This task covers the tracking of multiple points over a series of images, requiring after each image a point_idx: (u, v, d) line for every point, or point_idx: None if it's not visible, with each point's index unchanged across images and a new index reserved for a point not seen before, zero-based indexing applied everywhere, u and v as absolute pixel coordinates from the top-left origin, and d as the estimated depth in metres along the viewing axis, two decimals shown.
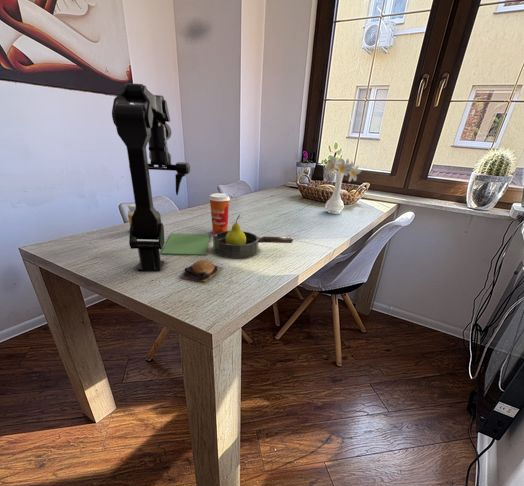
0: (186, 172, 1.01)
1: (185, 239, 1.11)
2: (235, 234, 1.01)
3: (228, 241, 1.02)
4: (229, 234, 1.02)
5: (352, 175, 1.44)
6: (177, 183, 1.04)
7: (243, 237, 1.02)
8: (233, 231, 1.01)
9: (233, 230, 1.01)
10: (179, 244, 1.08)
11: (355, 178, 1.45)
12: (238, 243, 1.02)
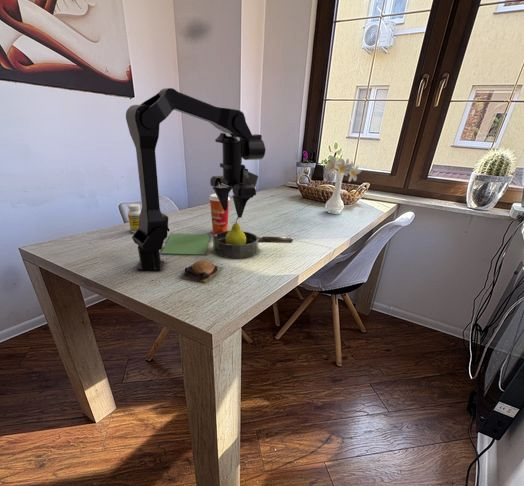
0: (238, 194, 0.89)
1: (185, 239, 1.11)
2: (235, 234, 1.01)
3: (228, 241, 1.02)
4: (229, 234, 1.02)
5: (352, 175, 1.44)
6: (235, 205, 0.93)
7: (243, 237, 1.02)
8: (233, 231, 1.01)
9: (233, 230, 1.01)
10: (179, 244, 1.08)
11: (355, 178, 1.45)
12: (238, 243, 1.02)
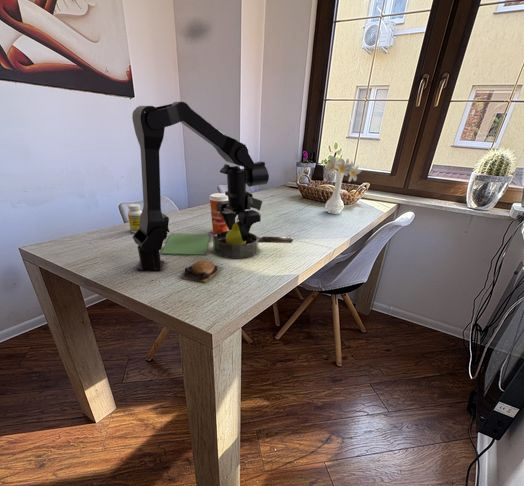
0: (243, 222, 0.92)
1: (185, 239, 1.11)
2: (236, 233, 1.01)
3: (228, 240, 1.02)
4: (229, 233, 1.02)
5: (352, 175, 1.44)
6: (240, 230, 0.98)
7: None
8: (233, 231, 1.01)
9: (233, 229, 1.01)
10: (179, 244, 1.08)
11: (355, 178, 1.45)
12: (238, 242, 1.02)
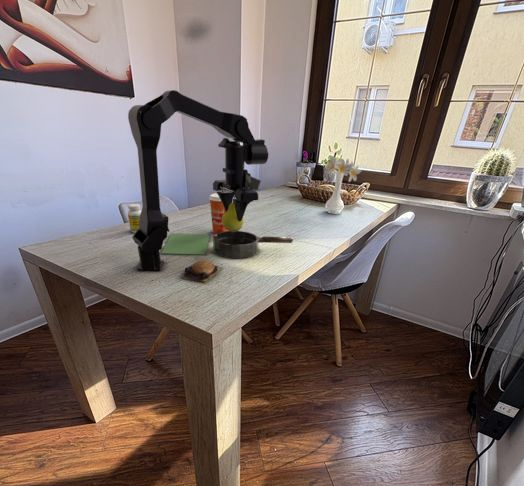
0: (240, 199, 0.89)
1: (185, 239, 1.11)
2: (232, 213, 0.97)
3: (224, 221, 0.98)
4: (226, 214, 0.98)
5: (352, 175, 1.44)
6: (235, 208, 0.94)
7: None
8: (230, 211, 0.98)
9: (230, 209, 0.98)
10: (179, 244, 1.08)
11: (355, 178, 1.45)
12: (235, 222, 0.98)
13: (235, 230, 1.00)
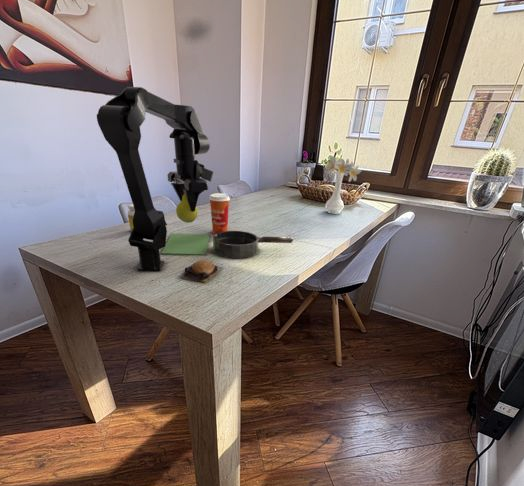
0: (189, 189, 0.90)
1: (185, 239, 1.11)
2: (185, 203, 0.99)
3: (178, 211, 1.00)
4: (179, 204, 1.00)
5: (352, 175, 1.44)
6: (187, 199, 0.96)
7: None
8: (183, 201, 0.99)
9: (183, 200, 0.99)
10: (179, 244, 1.08)
11: (355, 178, 1.45)
12: (188, 212, 0.99)
13: (189, 220, 1.01)
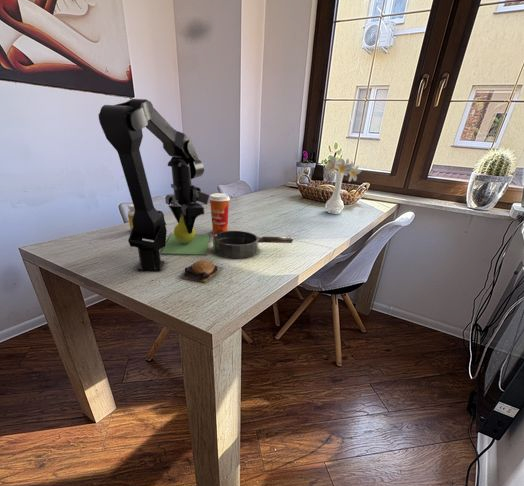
0: (186, 214, 0.95)
1: None
2: (182, 225, 1.03)
3: (175, 233, 1.04)
4: (176, 226, 1.04)
5: (352, 175, 1.44)
6: (184, 222, 1.00)
7: None
8: (180, 223, 1.03)
9: (180, 222, 1.03)
10: (179, 244, 1.08)
11: (355, 178, 1.45)
12: (185, 234, 1.03)
13: (186, 241, 1.06)
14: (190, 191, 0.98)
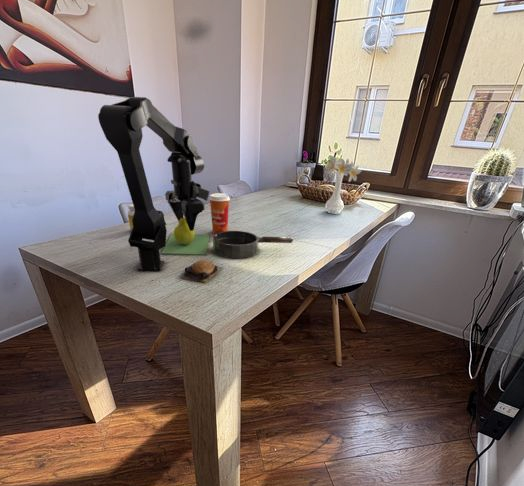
0: (186, 210, 0.94)
1: None
2: (182, 228, 1.02)
3: (175, 235, 1.04)
4: (176, 229, 1.03)
5: (352, 175, 1.44)
6: (185, 219, 0.99)
7: (190, 231, 1.04)
8: (180, 226, 1.03)
9: (180, 225, 1.03)
10: (179, 244, 1.08)
11: (355, 178, 1.45)
12: (185, 237, 1.03)
13: (186, 243, 1.06)
14: (190, 187, 0.98)
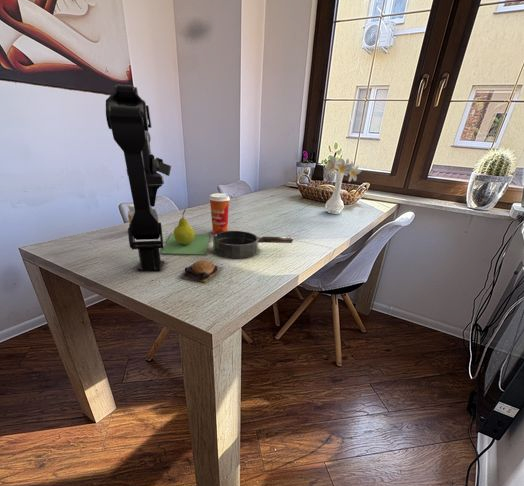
0: None
1: None
2: (182, 228, 1.02)
3: (175, 235, 1.04)
4: (176, 229, 1.03)
5: (352, 175, 1.44)
6: None
7: (190, 231, 1.04)
8: (180, 226, 1.03)
9: (180, 225, 1.03)
10: (179, 244, 1.08)
11: (355, 178, 1.45)
12: (185, 237, 1.03)
13: (186, 243, 1.06)
14: (149, 160, 0.95)
